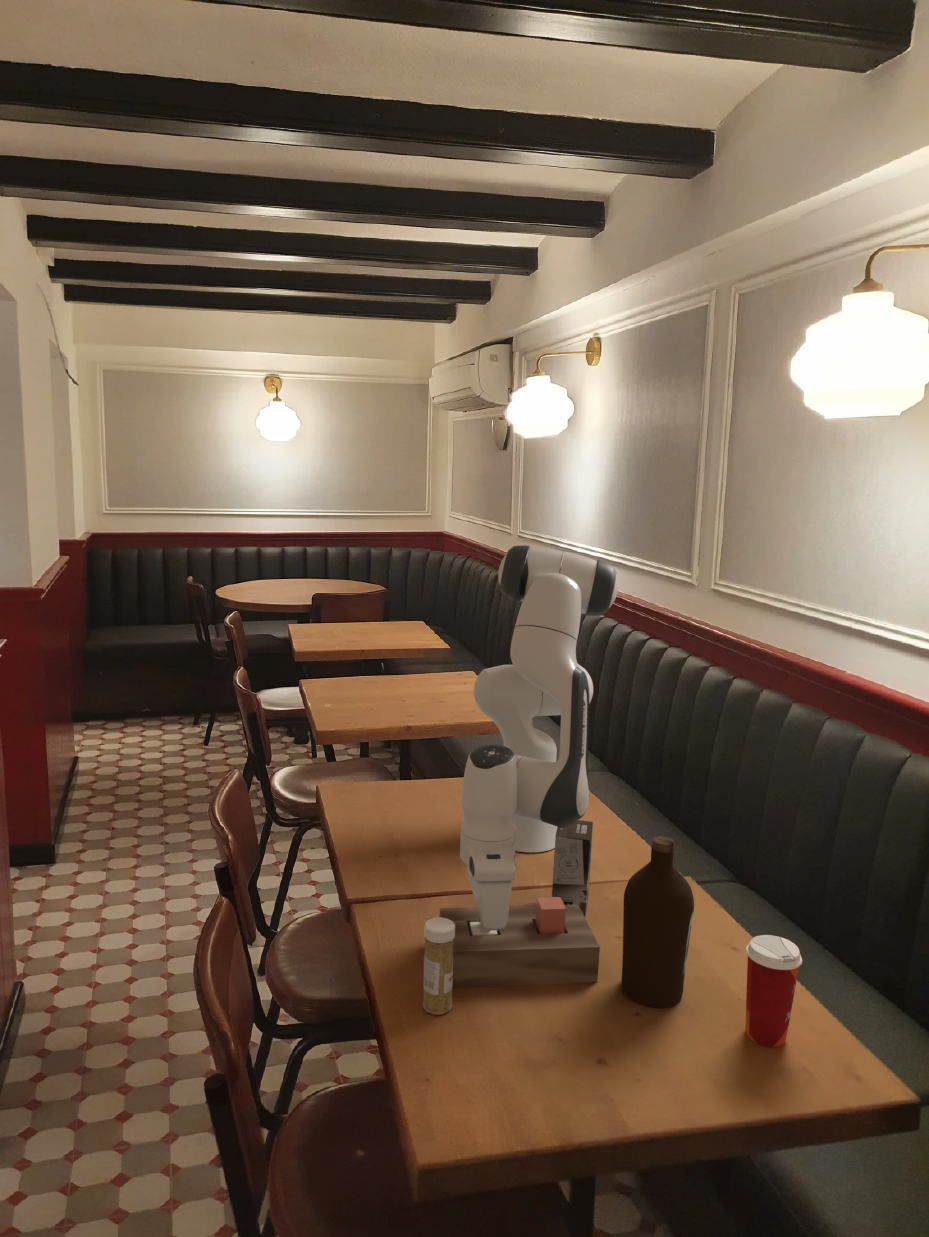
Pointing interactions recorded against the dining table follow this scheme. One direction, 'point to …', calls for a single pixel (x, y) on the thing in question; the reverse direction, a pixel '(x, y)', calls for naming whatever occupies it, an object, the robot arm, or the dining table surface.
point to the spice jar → (438, 965)
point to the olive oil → (656, 930)
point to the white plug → (476, 930)
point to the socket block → (522, 950)
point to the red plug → (550, 915)
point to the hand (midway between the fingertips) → (484, 927)
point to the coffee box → (573, 864)
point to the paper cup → (770, 988)
